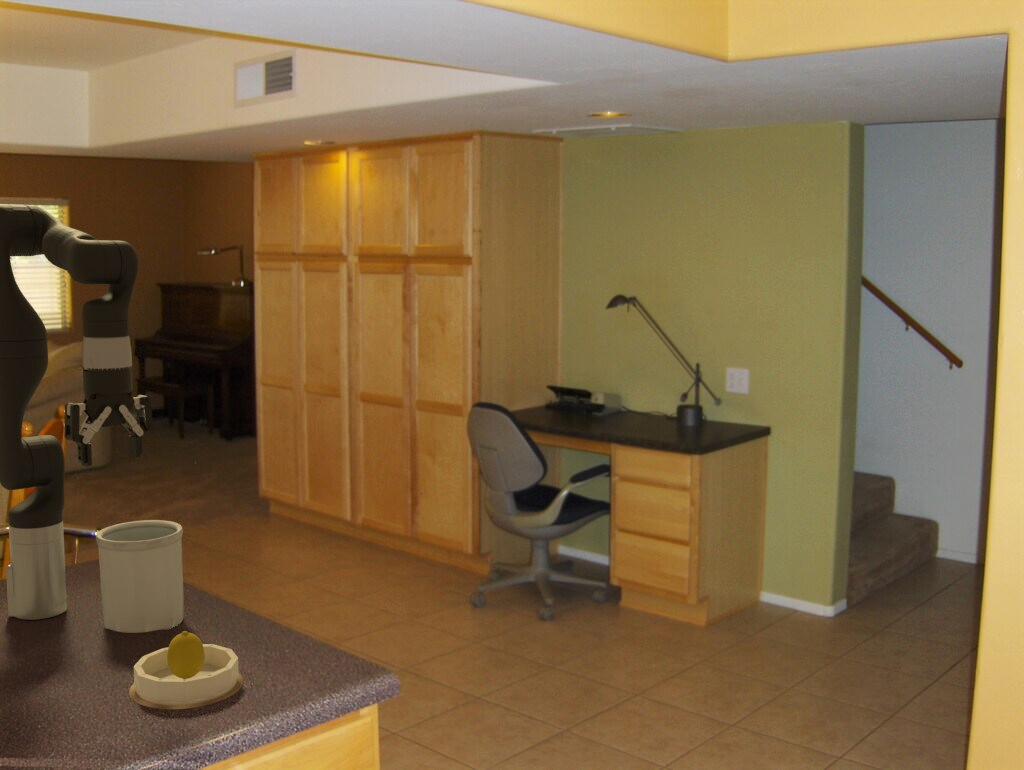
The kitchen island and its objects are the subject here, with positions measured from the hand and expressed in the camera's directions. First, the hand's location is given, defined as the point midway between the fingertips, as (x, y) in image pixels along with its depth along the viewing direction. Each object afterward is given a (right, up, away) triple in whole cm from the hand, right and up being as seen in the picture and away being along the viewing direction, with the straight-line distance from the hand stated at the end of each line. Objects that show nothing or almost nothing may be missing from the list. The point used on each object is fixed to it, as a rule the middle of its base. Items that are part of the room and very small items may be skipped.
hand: (110, 461), depth 176 cm
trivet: (+16, -35, -10) cm, 39 cm away
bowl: (+16, -34, -10) cm, 39 cm away
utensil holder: (-1, -31, +19) cm, 37 cm away
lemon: (+16, -34, -10) cm, 38 cm away
